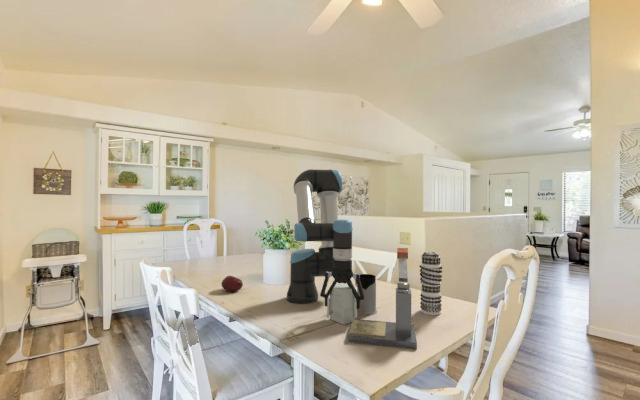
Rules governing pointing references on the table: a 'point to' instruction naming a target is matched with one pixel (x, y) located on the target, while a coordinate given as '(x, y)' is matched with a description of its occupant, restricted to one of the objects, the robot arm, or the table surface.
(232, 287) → the heart
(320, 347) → the table surface
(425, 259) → the decorative candle
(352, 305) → the small box
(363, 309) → the glass holder
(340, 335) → the table surface
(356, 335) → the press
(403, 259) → the lever
